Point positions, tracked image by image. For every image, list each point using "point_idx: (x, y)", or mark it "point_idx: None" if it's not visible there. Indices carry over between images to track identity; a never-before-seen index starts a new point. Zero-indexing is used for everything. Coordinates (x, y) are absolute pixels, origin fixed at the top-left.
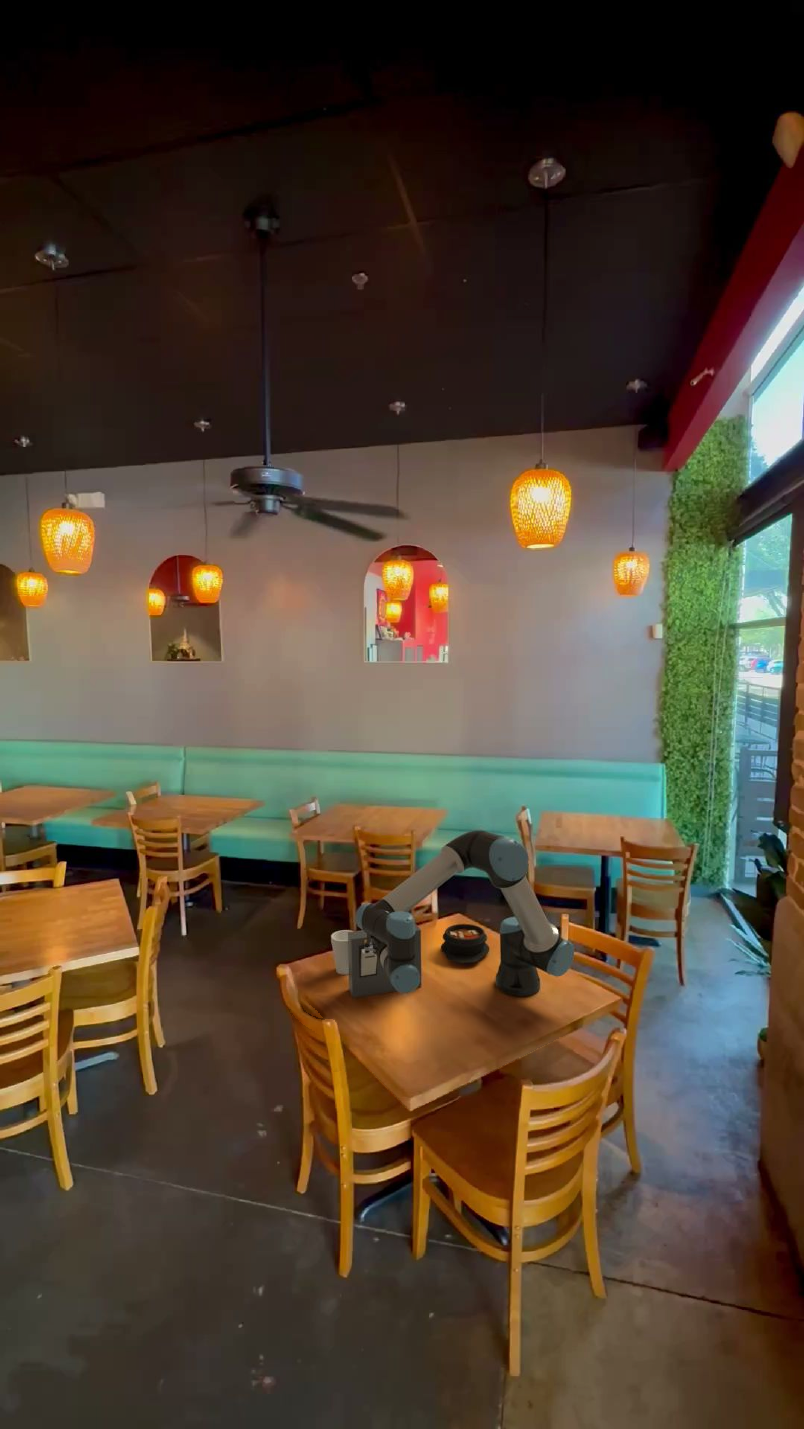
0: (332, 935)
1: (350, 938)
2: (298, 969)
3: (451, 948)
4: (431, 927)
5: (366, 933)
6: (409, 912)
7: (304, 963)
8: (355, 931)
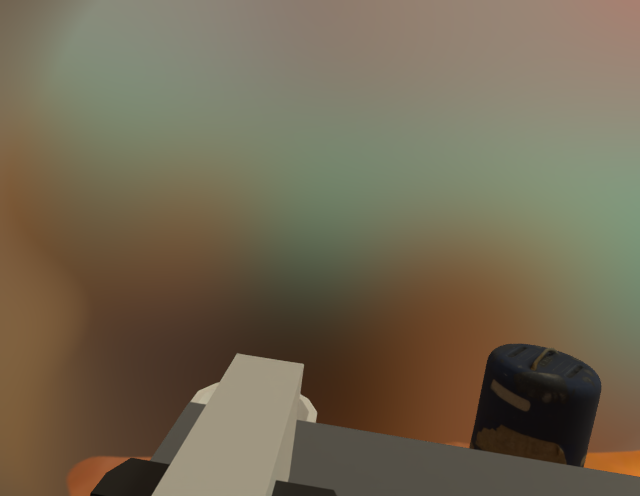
0: (206, 391)
1: (155, 457)
2: (76, 480)
3: None
4: (633, 464)
5: (298, 454)
6: (594, 393)
7: (123, 461)
8: None
